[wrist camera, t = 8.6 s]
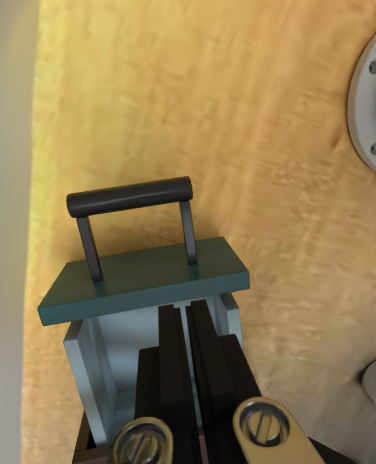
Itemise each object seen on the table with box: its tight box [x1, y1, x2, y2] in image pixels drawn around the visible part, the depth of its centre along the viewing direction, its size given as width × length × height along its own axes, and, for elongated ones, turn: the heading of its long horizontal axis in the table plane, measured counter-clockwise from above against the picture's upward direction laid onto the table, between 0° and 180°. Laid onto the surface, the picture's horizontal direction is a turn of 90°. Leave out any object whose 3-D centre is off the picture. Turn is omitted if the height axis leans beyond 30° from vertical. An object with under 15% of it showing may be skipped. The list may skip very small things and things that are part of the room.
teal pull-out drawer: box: [37, 176, 250, 448], centre depth 21 cm, size 18×12×6 cm, turn 7°
